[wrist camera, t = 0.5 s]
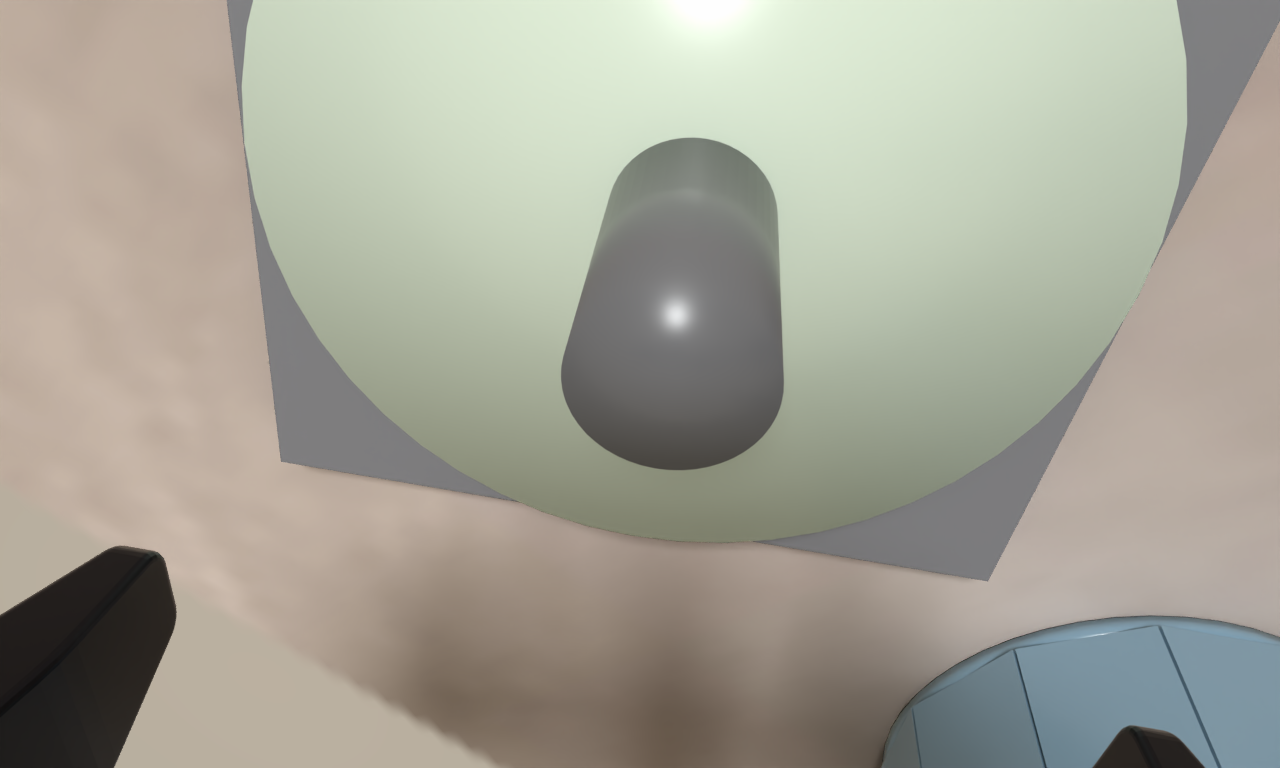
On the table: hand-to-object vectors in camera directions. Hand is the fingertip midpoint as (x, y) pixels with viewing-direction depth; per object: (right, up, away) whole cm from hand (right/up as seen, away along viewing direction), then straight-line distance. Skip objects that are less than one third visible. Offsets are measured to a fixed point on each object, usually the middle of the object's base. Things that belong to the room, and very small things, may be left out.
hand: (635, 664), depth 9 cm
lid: (+1, +6, +9) cm, 11 cm away
